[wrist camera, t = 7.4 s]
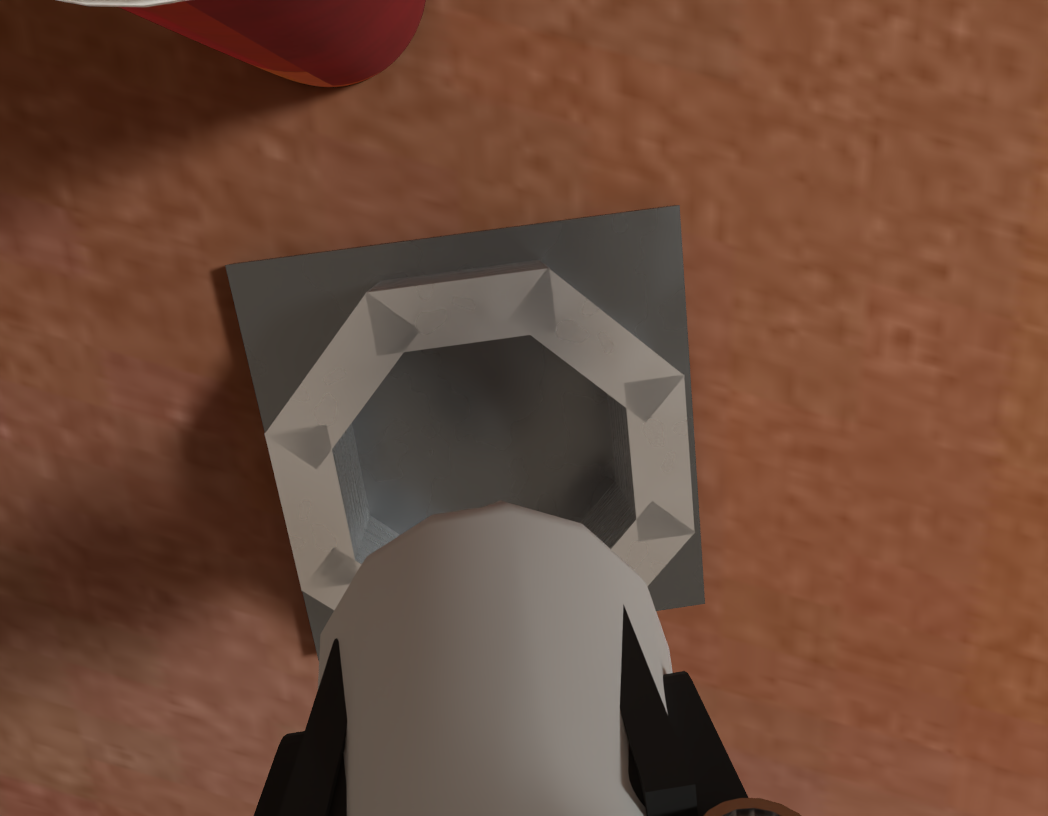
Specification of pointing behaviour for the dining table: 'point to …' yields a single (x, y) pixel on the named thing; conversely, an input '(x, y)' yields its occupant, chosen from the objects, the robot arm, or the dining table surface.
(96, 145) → the dining table surface
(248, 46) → the paper cup
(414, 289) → the ring collar
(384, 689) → the grey peg
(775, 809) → the robot arm
